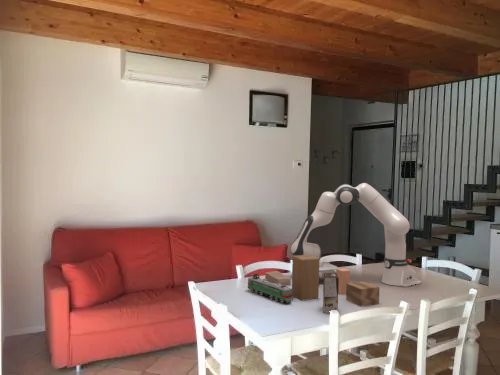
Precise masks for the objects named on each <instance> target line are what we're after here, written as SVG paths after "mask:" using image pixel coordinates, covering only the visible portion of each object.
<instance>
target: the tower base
mask: <svg viewBox="0 0 500 375" xmlns="http://www.w3.org/2000/svg"><path fill="white" fill-rule="evenodd" d="M345 297H346V298H345V300H346V301H349V302H351V303H352V304H355V305H357V306H360V307H364V306H370V305H378V304H380V286H378V285H375V284H372V283H370V282H367V281H365V280H364V281H357V282H350V283H347V285H346V294H345Z"/></svg>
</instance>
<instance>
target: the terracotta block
mask: <svg viewBox="0 0 500 375" xmlns="http://www.w3.org/2000/svg"><path fill="white" fill-rule="evenodd" d="M336 273H337V275H338V277H339V287H338V295H339V294H340V295H346V285H347V283H351V270H350V269H347V268H345V267H344V268H339V269H336Z"/></svg>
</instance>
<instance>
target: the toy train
mask: <svg viewBox="0 0 500 375" xmlns="http://www.w3.org/2000/svg"><path fill="white" fill-rule="evenodd" d="M247 288H248V290H250V292H251V293H255V294H256V295H258V294H259V296H263V295H264V296H265V297H269V298H270V300H273V299H274V300H275V302H278V301H279V302H280V303H281V304H283V303H284V302H285V303H286V304H289V303H291V302H292V301H293V297H294V295H292V287H289V286H286V285H284V286H283V285H281V284H279V283H274V282H271V281H268V280H266V279H265V278H260V275H259V272H257V273H254V274H253V275H252V276H249V277H248V278H247Z"/></svg>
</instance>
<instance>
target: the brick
mask: <svg viewBox="0 0 500 375" xmlns="http://www.w3.org/2000/svg"><path fill="white" fill-rule="evenodd" d="M264 274H265V276H264V277H265V278H264V279H266V280H268V281H271V282H274V283H279V284H281V285H283V286H284V285H286V287H289V286H292V278H291V277H289V276H287V275H284V274H283V273H281V272H280V271H278V270H274V271H268V272H265V273H264Z"/></svg>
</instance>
